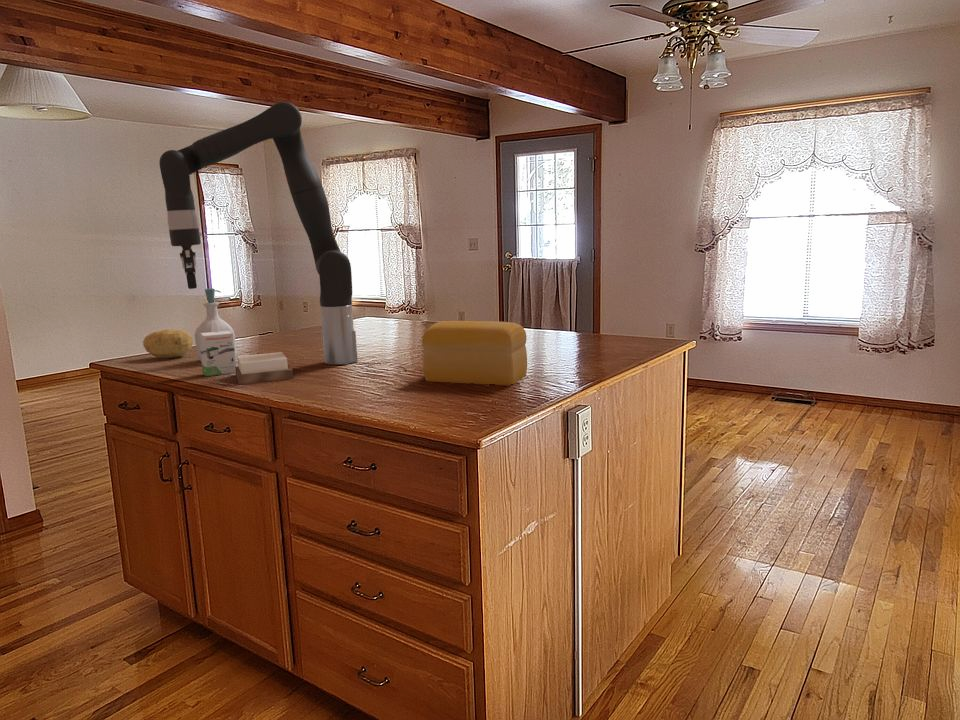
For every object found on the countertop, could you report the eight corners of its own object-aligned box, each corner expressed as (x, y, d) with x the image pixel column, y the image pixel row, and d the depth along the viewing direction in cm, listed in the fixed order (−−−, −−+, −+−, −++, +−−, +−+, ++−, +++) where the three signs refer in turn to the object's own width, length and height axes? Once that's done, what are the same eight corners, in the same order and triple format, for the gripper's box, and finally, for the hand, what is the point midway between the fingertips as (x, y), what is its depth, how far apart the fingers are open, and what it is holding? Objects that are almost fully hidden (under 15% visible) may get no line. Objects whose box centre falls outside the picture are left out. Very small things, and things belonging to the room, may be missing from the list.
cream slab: (282, 362, 197) (281, 352, 197) (288, 369, 187) (287, 358, 186) (238, 366, 193) (237, 356, 192) (241, 374, 182) (240, 363, 181)
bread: (528, 375, 180) (526, 318, 177) (512, 386, 168) (510, 325, 166) (443, 371, 189) (441, 317, 186) (423, 381, 177) (420, 324, 174)
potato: (177, 361, 218) (174, 331, 217) (141, 360, 223) (137, 331, 221) (199, 355, 228) (196, 327, 226) (163, 354, 232) (160, 326, 230)
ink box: (206, 376, 193) (201, 335, 190) (202, 374, 197) (197, 333, 194) (237, 372, 197) (233, 331, 195) (233, 369, 201) (229, 329, 199)
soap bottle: (240, 359, 218) (232, 287, 214) (214, 364, 210) (205, 290, 206) (220, 356, 223) (212, 286, 219) (194, 362, 216) (186, 289, 211)
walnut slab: (287, 371, 199) (286, 361, 199) (293, 380, 186) (292, 369, 186) (236, 377, 194) (235, 366, 193) (239, 386, 181) (238, 375, 181)
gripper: (199, 226, 181) (207, 288, 184) (198, 227, 193) (206, 284, 197) (168, 228, 178) (177, 290, 181) (169, 229, 191) (177, 287, 194)
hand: (192, 287), depth 189 cm, fingers open, 8 cm apart
